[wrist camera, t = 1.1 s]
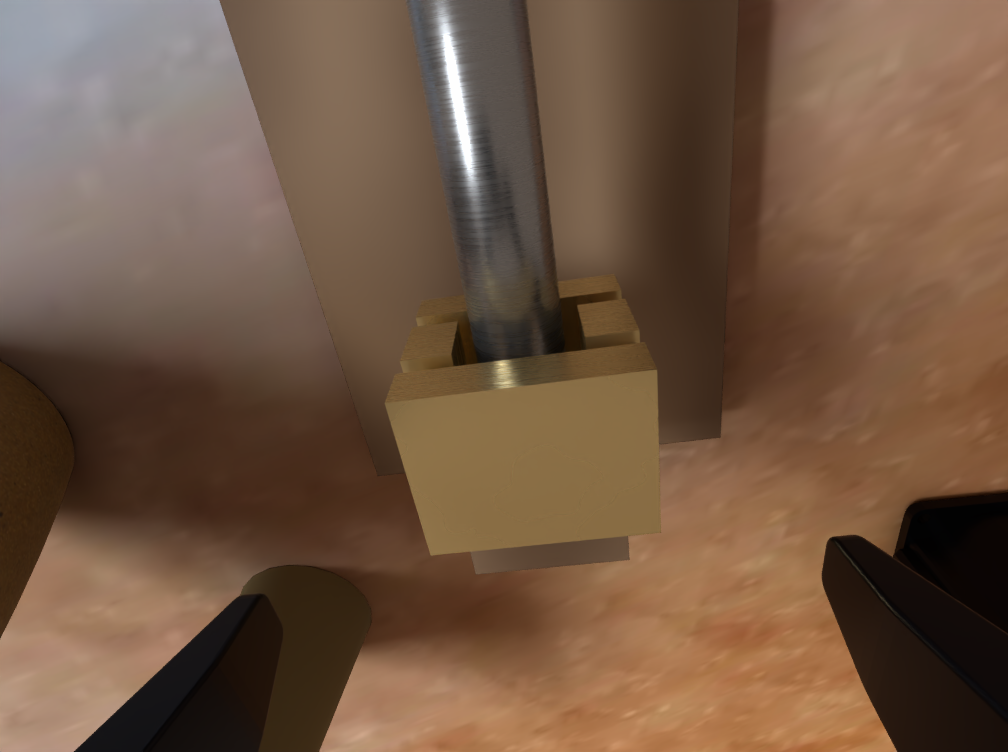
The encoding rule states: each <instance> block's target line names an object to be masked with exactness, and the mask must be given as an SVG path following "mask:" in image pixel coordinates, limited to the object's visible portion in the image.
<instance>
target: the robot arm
mask: <svg viewBox="0 0 1008 752" xmlns="http://www.w3.org/2000/svg"><path fill="white" fill-rule="evenodd" d="M822 582H823V587H824V590H825V592H826V595H827V597H828V600H829V602H830V605H831V607H832V610H833V612H834V615H835V617H836V620H837V622H838V625H839V627H840V630H841V632H842V635H843V637H844V640H845V642H846V645H847V647H848V650H849V652H850V654H851V657H852V659H853V662H854V664H855V667H856V669H857V672H858V674H859V677H860V679H861V681H862V684H863V686H864V688H865V690H866V692H867V694H868V696H869V698H870V700H871V702H872V704H873V706H874V708H875V710H876V712H877V714H878V716H879V718H880V720H881V722H882V724H883V725H884V727H885V729H886V731H887V733H888V735H889V737H890V739H891V741H892V743H893V744H894V746H895V748H896V750H897V752H1008V493H1006V494H996V495H986V496H976V497H966V498H956V499H946V500H936V501H926V502H919V503H915V504H913V505H911V506H910V507H908V508H907V509H906V511H905V514H904V518H903V521H902V525H901V529H900V533H899V537H898V541H897V545H896V549H895V553H894V555H893V557H892V556H890V555H889V554H887V553H886V552H884V551H883V550H881V549H880V548H878V547H877V546H875V545H874V544H872V543H871V542H869V541H868V540H866V539H864V538H863V537H861V536H858V535H846V536H836V537H831V538H830V539H829V540H828V541H827V545H826V550H825V557H824V563H823V569H822ZM283 634H284V632H283V625H282V622H281V620H280V619H279V617H278V615H277V613H276V611H275V609H274V607H273V605H272V603H271V602H270V600H269V598H268V597H267V596H266V595H265V594H263V593H255V594H245V595H241V596H239V597H237V598H236V599H235V600H233V601H232V602H231V603H230V604H229V605H228V606H227V607H226V608H225V609H224V610H223V611H222V612H221V613H220V614H219V615H218V616H217V617H216V618H214V619H213V620H212V621H211V622H210V623H209V624H208V625H207V626H206V627H205V628H204V629H203V630H202V631H201V632H200V633H199V634H198V635H197V636H195V637H194V638H193V639H192V640H191V641H190V642H189V643H188V644H187V645H186V646H185V647H184V648H183V649H182V650H181V651H180V652H179V653H178V654H176V655H175V656H174V657H173V658H172V659H171V660H170V661H169V662H168V663H167V664H166V665H165V666H164V667H163V668H162V669H161V670H160V671H159V672H157V673H156V674H155V675H154V676H153V677H152V678H151V679H150V680H149V681H148V682H147V683H146V684H145V685H144V686H143V687H142V688H141V689H140V690H138V691H137V692H136V693H135V694H134V695H133V696H132V697H131V698H130V699H129V700H128V701H127V702H126V703H125V704H124V705H123V706H122V707H121V708H119V709H118V710H117V711H116V712H115V713H114V714H113V715H112V716H111V717H110V718H109V719H108V720H107V721H106V722H105V723H104V724H103V725H102V726H100V727H99V728H98V729H97V730H96V731H95V732H94V733H93V734H92V735H91V736H90V737H89V738H88V739H87V740H86V741H85V742H84V743H83V744H81V745H80V746H79V747H78V748H77V749H76V750H75V751H74V752H259V748H260V745H261V741H262V737H263V734H264V730H265V725H266V721H267V716H268V711H269V706H270V702H271V697H272V692H273V687H274V682H275V677H276V672H277V667H278V662H279V657H280V652H281V647H282V642H283Z"/></svg>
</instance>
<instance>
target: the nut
mask: <svg viewBox="0 0 1008 752" xmlns="http://www.w3.org/2000/svg"><path fill="white" fill-rule="evenodd" d="M558 286H559V295H560V304H561V313H562V322H563V331H564V340H565V349H566V352H564V353H556V354H548V355H541V356H533V357H525V358H517V359H509V360H501V361H494V362H486V363H478V362H477V357H476V352H475V347H474V342H473V337H472V332H471V327H470V322H469V317H468V312H467V307H466V302H465V297H464V295H459V296H452V297H445V298H438V299H430V300H423V301H422V302H421V305H420V307H419V310H418V313H417V316H416V321H417V325H418V327H412V329H411V332H410V335H409V338H408V340H407V343H406V346H405V349H404V351H403V354H402V357H401V360H400V363H401V367H402V371H403V373H400V374H395V376H394V379H393V382H392V384H391V387H390V390H389V393H388V395H387V398H386V401H385V406H386V409H387V413H388V416H389V419H390V423H391V426H392V429H393V433H394V436H395V439H396V443H397V446H398V449H399V452H400V456H401V459H402V462H403V466H404V469H405V472H406V476H407V479H408V482H409V486H410V489H411V492H412V496H413V499H414V502H415V506H416V509H417V512H418V515H419V519H420V522H421V525H422V529H423V532H424V535H425V539H426V542H427V545H428V549H429V552H430V555H441V554H451V553H461V552H471V551H482V550H492V549H502V548H512V547H522V546H532V545H542V544H552V543H562V542H572V541H582V540H592V539H603V538H613V537H623V536H633V535H643V534H653V533H661V516H660V472H659V429H658V385H657V368H656V366H655V364H654V362H653V359H652V357H651V355H650V353H649V350H648V348H647V346H646V344H645V342H642V343H640V334H639V328H638V326H637V324H636V322H635V319H634V317H633V315H632V313H631V310H630V308H629V306H628V304H627V302H626V299H622V296H621V288H620V286H619V284H618V282H617V279H616V277H615V275H614V274H611V275H603V276H596V277H589V278H582V279H575V280H567V281H560V282H558Z"/></svg>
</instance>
